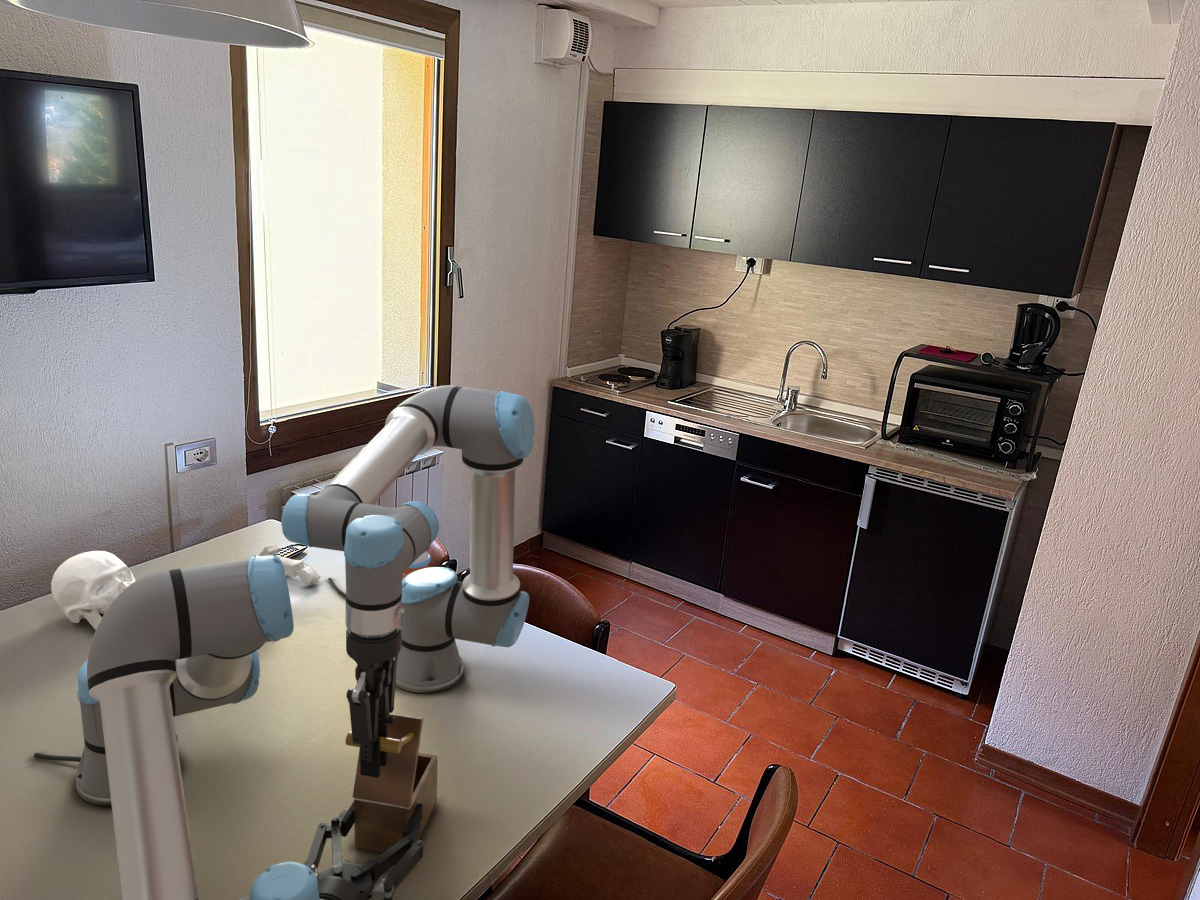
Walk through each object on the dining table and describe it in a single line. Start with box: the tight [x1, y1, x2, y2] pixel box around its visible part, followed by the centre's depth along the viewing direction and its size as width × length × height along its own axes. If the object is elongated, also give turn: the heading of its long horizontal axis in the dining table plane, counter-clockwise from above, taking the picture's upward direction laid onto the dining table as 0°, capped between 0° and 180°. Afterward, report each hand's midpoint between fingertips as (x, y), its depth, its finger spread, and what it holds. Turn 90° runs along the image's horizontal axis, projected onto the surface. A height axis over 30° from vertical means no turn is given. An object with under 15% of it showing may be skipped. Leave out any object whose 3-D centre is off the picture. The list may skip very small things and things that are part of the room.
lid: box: [345, 712, 424, 807], centre depth 127 cm, size 13×9×9 cm
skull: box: [50, 550, 137, 631], centre depth 191 cm, size 13×22×16 cm, turn 73°
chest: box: [353, 752, 439, 853], centre depth 138 cm, size 13×9×9 cm
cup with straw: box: [402, 550, 432, 580], centre depth 213 cm, size 9×9×18 cm
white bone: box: [257, 544, 322, 587], centre depth 219 cm, size 20×4×7 cm, turn 62°
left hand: (390, 805), depth 135 cm, fingers closed on chest, 9 cm apart
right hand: (373, 768), depth 126 cm, fingers closed on lid, 2 cm apart
